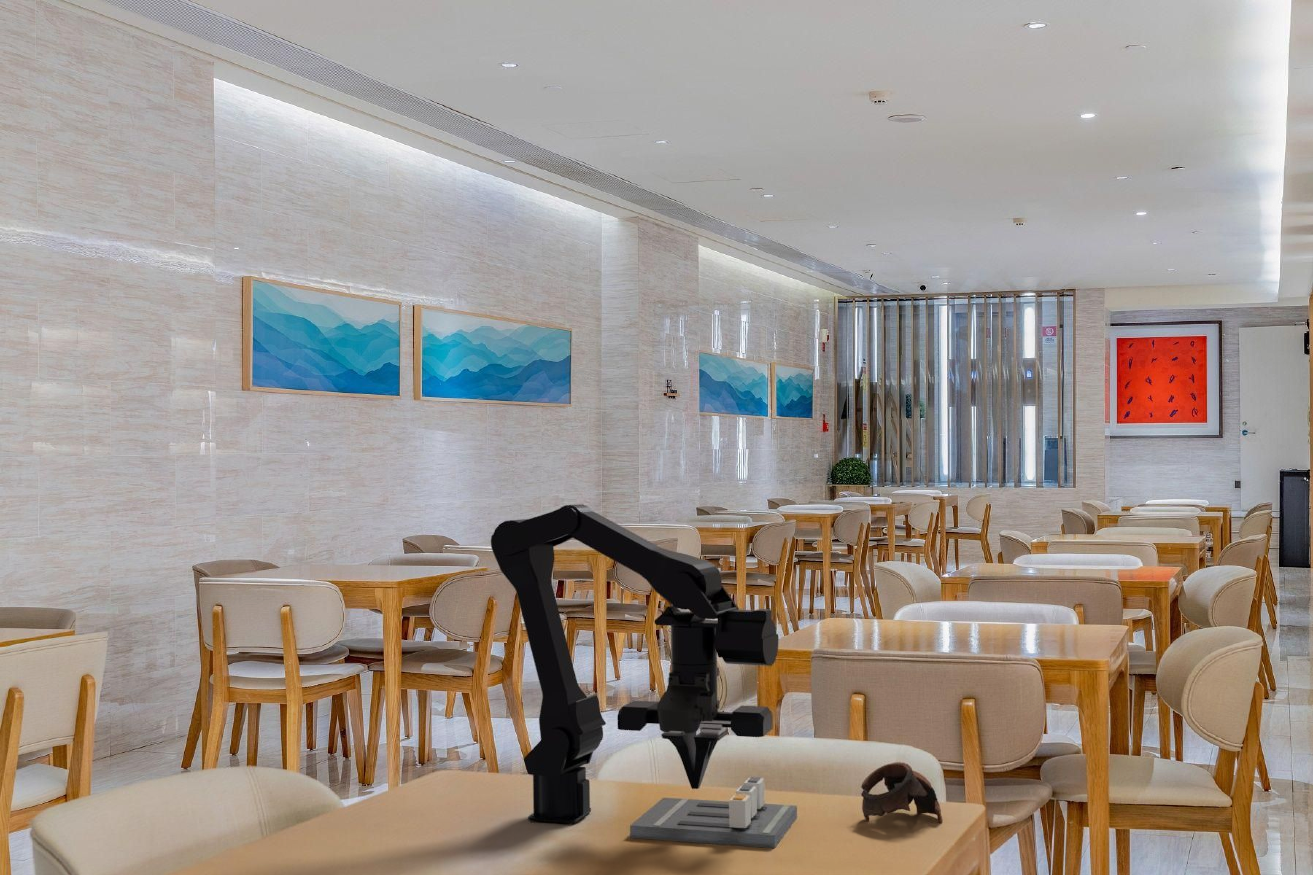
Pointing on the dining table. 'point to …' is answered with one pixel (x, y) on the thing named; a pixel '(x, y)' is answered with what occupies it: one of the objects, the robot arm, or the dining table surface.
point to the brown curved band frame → (899, 792)
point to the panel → (712, 823)
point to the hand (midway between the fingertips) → (695, 788)
